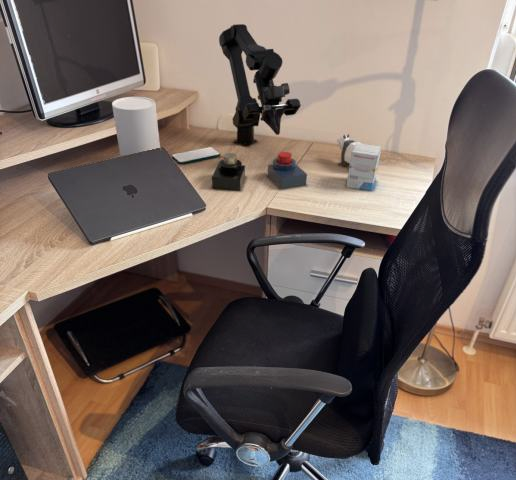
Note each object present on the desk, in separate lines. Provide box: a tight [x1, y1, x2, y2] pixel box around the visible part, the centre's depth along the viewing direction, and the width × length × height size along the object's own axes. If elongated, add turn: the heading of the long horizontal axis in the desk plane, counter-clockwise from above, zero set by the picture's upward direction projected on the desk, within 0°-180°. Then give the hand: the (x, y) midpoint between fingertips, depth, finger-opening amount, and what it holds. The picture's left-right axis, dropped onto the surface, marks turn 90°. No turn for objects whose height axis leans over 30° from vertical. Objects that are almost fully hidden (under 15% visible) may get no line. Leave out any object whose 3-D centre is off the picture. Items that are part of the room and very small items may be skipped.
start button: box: [277, 151, 292, 165], centre depth 163 cm, size 4×4×3 cm
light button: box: [222, 152, 238, 166], centre depth 161 cm, size 4×4×3 cm
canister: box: [111, 96, 161, 157], centre depth 165 cm, size 14×14×20 cm
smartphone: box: [171, 146, 221, 165], centre depth 178 cm, size 8×1×16 cm
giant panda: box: [336, 134, 363, 167], centre depth 173 cm, size 15×6×10 cm, turn 29°
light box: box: [211, 159, 246, 192], centre depth 161 cm, size 12×9×6 cm
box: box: [267, 157, 308, 190], centre depth 164 cm, size 12×9×6 cm
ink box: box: [345, 142, 382, 192], centre depth 161 cm, size 9×8×12 cm
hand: (278, 134), depth 163 cm, fingers closed
